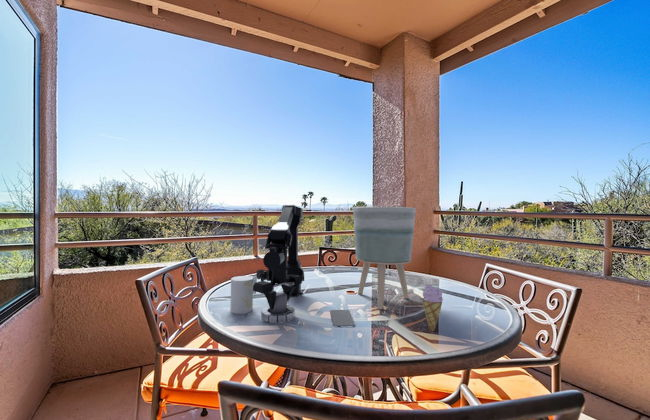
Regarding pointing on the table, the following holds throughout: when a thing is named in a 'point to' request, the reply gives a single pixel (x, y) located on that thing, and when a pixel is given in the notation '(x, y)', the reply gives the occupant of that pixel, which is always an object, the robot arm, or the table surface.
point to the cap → (280, 303)
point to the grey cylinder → (241, 294)
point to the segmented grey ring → (277, 315)
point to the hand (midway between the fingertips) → (278, 307)
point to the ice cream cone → (432, 305)
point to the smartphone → (341, 318)
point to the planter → (383, 242)
